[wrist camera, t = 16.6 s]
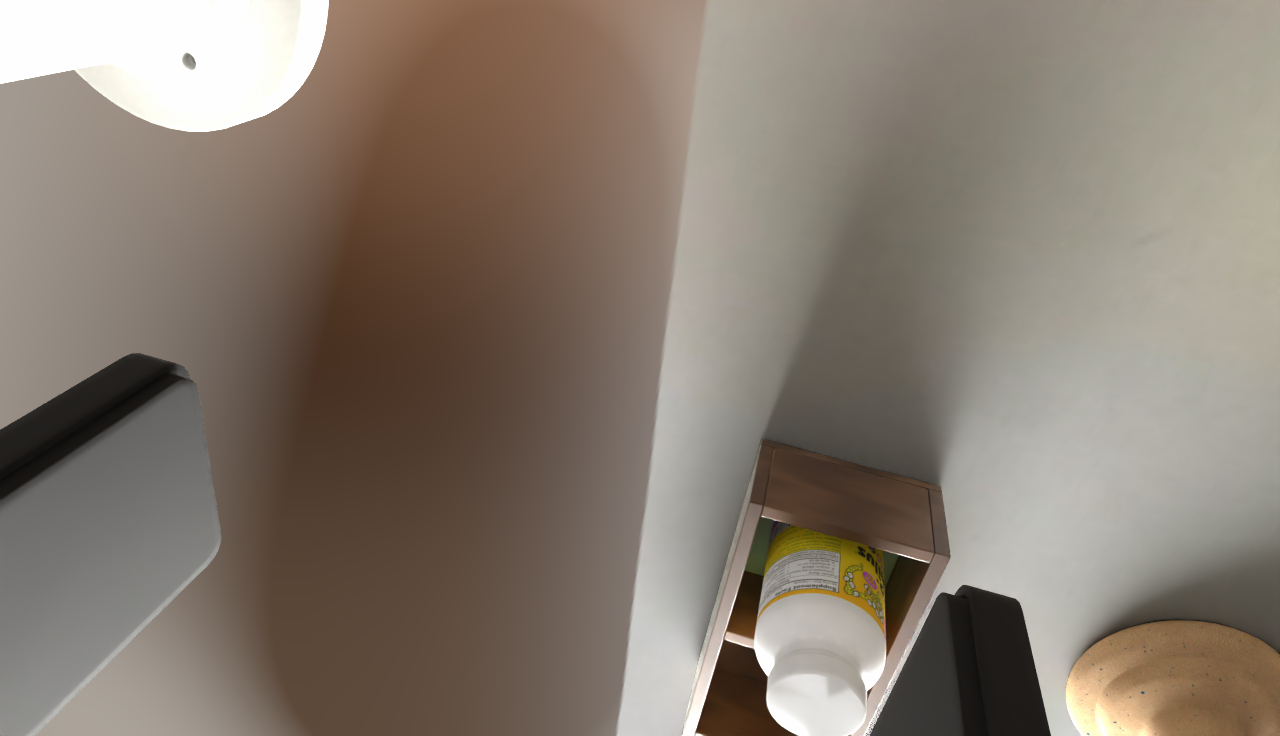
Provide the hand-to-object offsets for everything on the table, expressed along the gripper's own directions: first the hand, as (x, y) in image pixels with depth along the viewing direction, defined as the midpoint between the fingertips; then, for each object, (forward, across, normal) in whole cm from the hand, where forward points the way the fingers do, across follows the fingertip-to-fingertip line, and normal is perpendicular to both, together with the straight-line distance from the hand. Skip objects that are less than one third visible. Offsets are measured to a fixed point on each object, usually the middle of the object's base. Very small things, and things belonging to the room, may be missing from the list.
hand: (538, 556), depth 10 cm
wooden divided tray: (+33, -9, +30) cm, 46 cm away
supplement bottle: (+33, -9, +25) cm, 42 cm away
